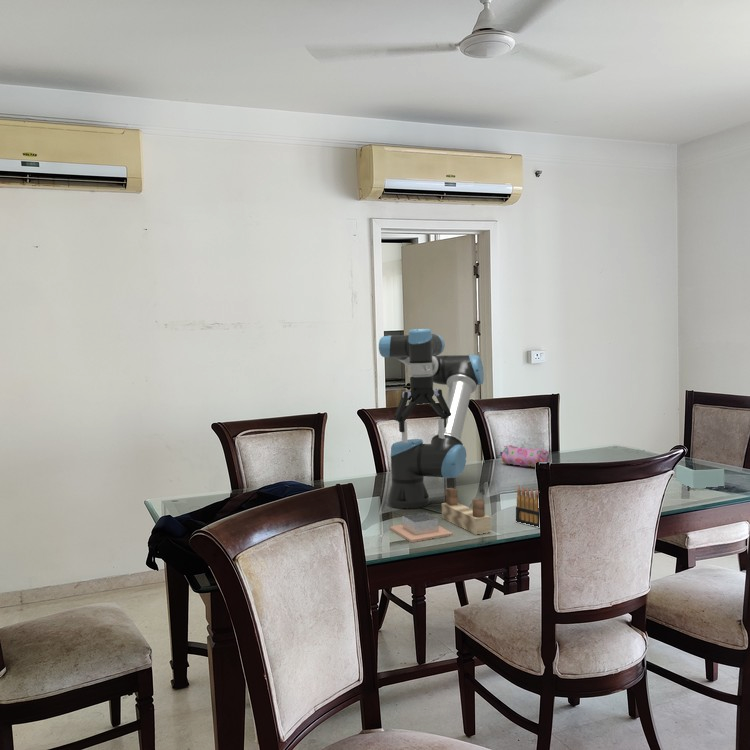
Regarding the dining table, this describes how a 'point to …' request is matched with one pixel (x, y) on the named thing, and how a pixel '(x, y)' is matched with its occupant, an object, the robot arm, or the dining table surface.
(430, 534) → the mat
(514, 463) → the pencil case
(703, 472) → the l-shaped corner panel
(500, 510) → the dining table surface
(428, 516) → the brushed metal block
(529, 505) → the ammunition clip
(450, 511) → the wooden peg stand
